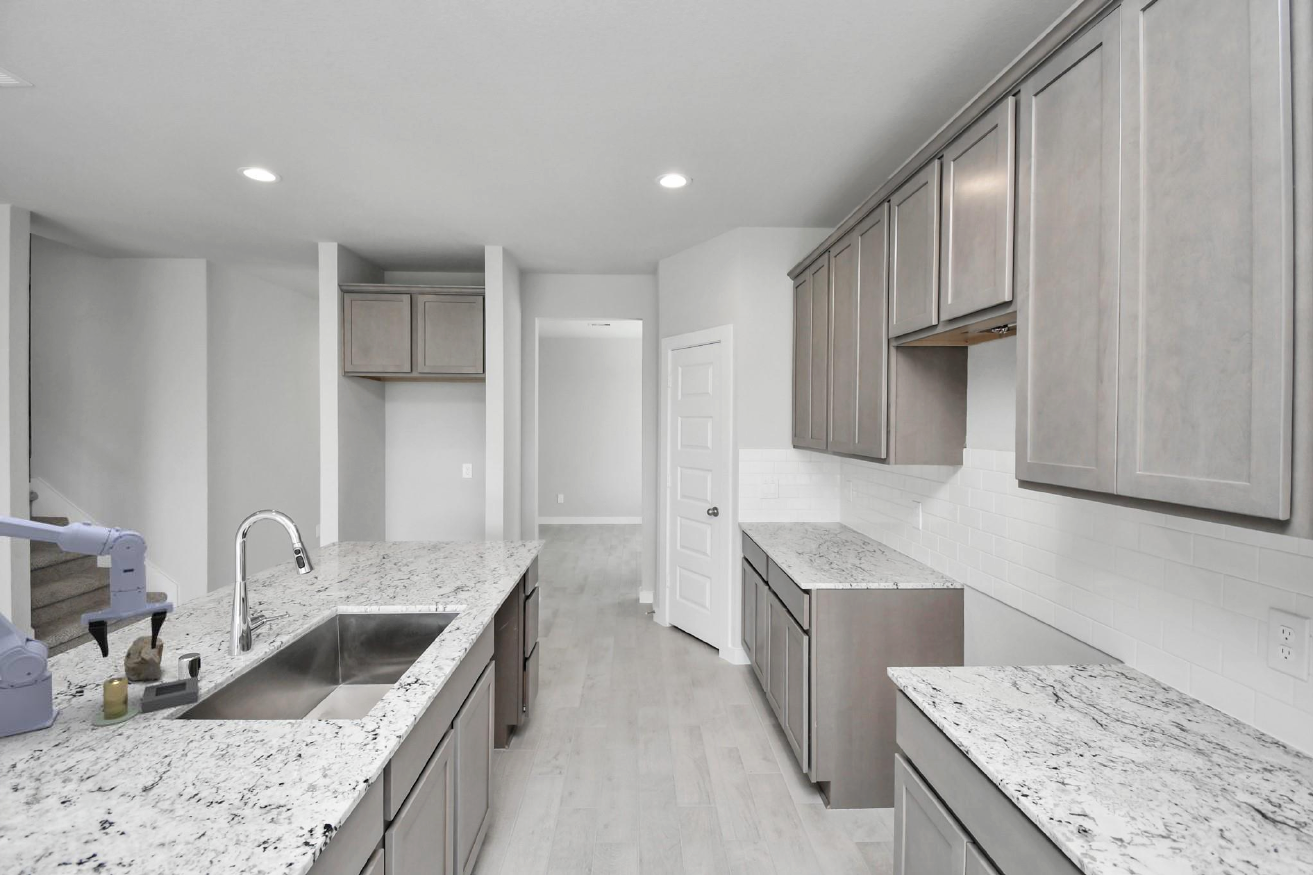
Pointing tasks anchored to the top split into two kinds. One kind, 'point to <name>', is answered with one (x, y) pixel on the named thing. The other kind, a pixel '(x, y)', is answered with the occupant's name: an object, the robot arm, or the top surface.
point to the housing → (169, 694)
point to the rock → (144, 659)
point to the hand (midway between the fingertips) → (130, 651)
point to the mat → (101, 721)
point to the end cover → (115, 698)
